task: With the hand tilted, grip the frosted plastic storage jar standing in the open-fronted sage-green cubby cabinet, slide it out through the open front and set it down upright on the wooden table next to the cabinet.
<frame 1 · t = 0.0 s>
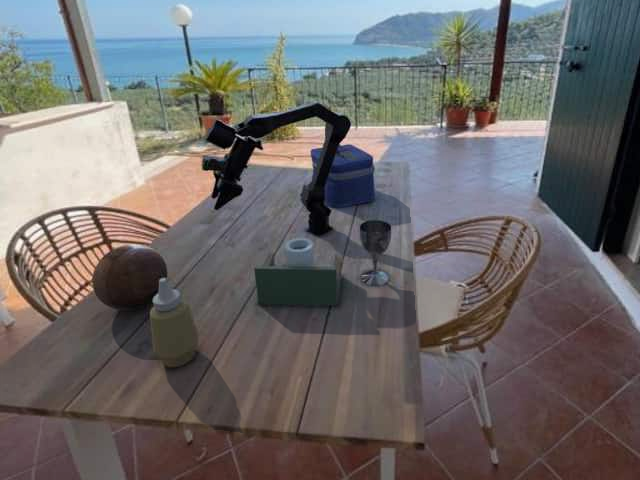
hand: (214, 203, 112), 15 cm above the table, tool tilted 35°, fingers open, 9 cm apart
wooden sphere: (138, 304, 93), on the table
lunch bag: (342, 194, 160), on the table
wine glass: (374, 278, 103), on the table
cubby cabinet: (302, 290, 98), on the table
squeeze bottle: (179, 357, 77), on the table
storage jar: (300, 267, 95), in the cubby cabinet
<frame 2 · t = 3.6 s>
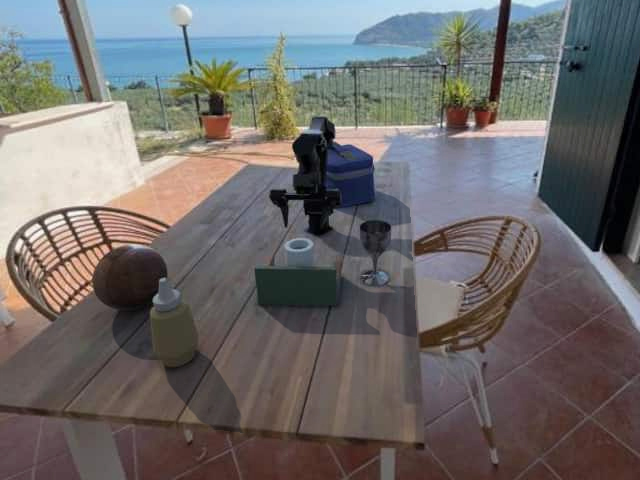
hand: (303, 227, 100), 14 cm above the table, tool tilted 45°, fingers open, 9 cm apart
nothing on the table moved.
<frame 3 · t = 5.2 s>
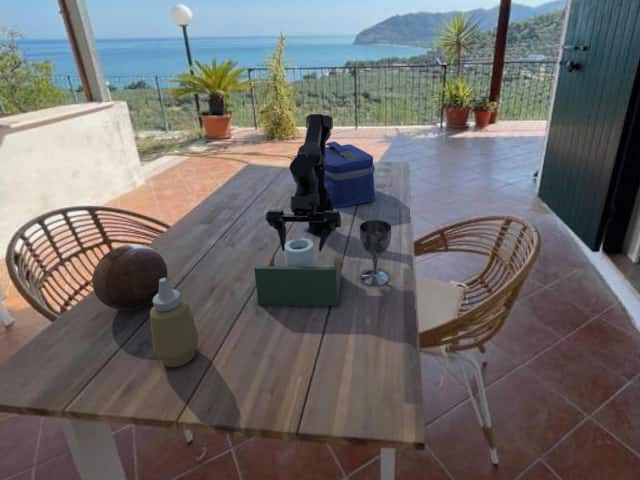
hand: (301, 251, 97), 10 cm above the table, tool tilted 45°, fingers open, 9 cm apart
nothing on the table moved.
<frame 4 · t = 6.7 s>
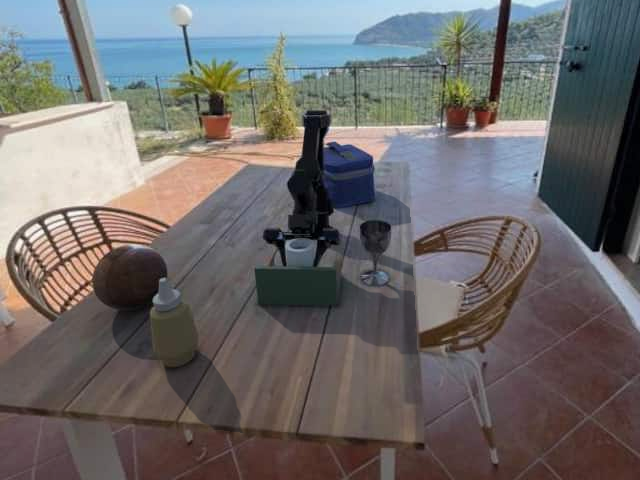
hand: (299, 270, 94), 7 cm above the table, tool tilted 45°, fingers closed on storage jar, 7 cm apart
storage jar: (300, 267, 95), in the cubby cabinet, touching gripper
everything else where it was.
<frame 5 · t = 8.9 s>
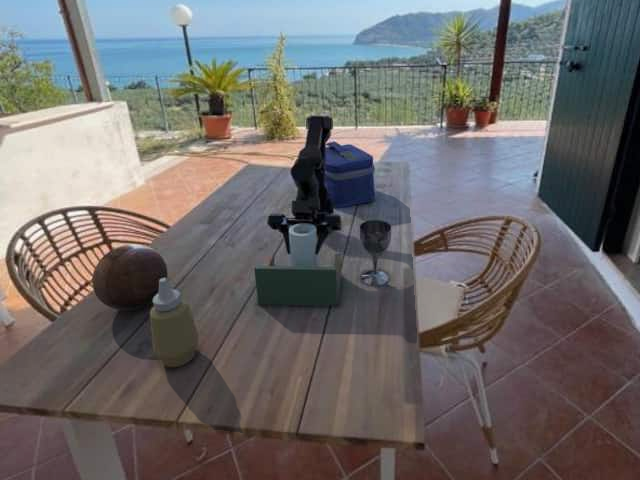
hand: (302, 254, 98), 8 cm above the table, tool tilted 45°, fingers closed on storage jar, 7 cm apart
storage jar: (303, 251, 99), point 8 cm above the table, touching gripper
everything else where it was.
when the fingers open (7 cm above the table, at t = 10.9 s): storage jar stays where it is, on the table.
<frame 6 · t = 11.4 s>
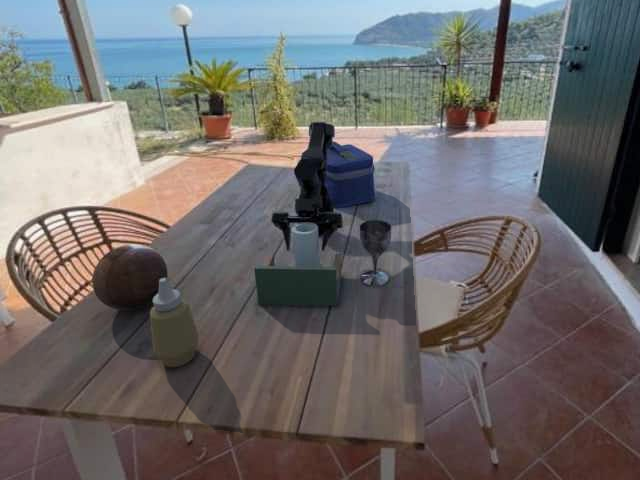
hand: (305, 250, 102), 7 cm above the table, tool tilted 45°, fingers open, 9 cm apart
storage jar: (306, 249, 104), on the table
everything else where it was.
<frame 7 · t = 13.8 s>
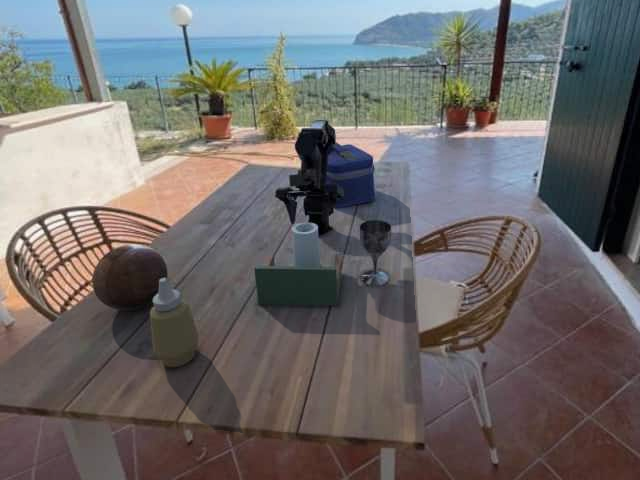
hand: (307, 223, 106), 12 cm above the table, tool tilted 35°, fingers open, 9 cm apart
nothing on the table moved.
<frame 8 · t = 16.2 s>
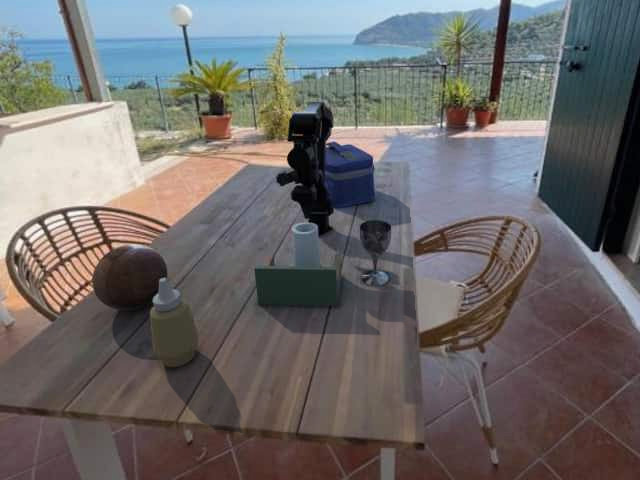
hand: (309, 211, 111), 13 cm above the table, tool pointing down, fingers open, 9 cm apart
nothing on the table moved.
at the end: storage jar inside the target area (0.1 cm from its centre), on the table; storage jar tilted 0°; the gripper is holding nothing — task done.
